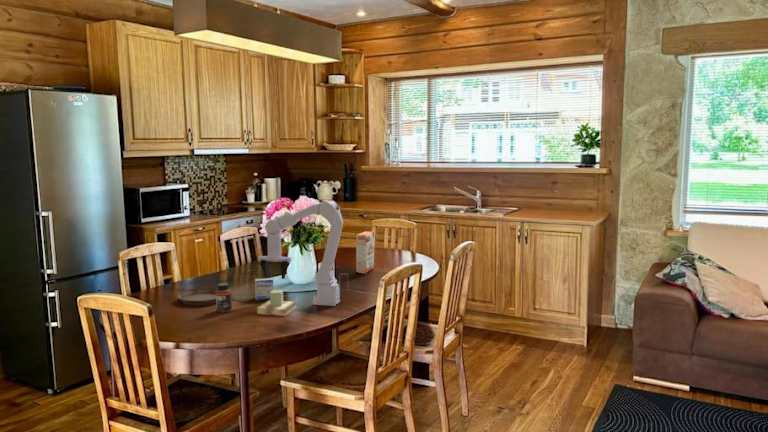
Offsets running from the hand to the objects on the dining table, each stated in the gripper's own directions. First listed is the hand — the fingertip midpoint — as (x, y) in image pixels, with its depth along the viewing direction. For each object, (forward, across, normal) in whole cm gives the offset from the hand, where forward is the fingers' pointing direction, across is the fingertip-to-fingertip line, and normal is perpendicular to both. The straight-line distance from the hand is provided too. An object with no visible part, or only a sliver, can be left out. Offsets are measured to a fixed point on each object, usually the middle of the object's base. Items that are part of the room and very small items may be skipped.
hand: (275, 278), depth 252 cm
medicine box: (+11, +7, -4) cm, 13 cm away
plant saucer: (+11, +32, +5) cm, 34 cm away
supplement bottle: (+11, +15, +18) cm, 26 cm away
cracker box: (+11, -24, -65) cm, 70 cm away
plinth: (+10, -6, +13) cm, 18 cm away
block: (+8, -6, +13) cm, 16 cm away
